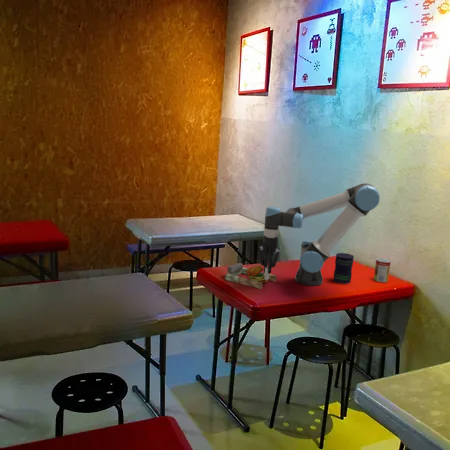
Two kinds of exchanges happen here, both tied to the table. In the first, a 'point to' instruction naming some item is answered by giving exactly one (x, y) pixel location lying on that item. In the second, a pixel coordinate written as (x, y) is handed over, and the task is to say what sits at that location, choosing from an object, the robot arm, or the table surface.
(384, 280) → the canned food
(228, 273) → the open wooden tray
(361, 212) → the robot arm
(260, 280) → the cheeseburger
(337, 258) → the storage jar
